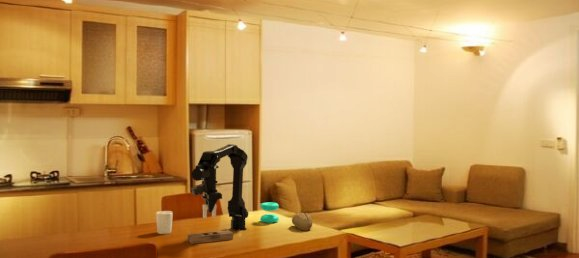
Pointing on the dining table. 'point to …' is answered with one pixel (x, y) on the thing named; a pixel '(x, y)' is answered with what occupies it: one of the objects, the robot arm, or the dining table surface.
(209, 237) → the rail
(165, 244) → the dining table surface
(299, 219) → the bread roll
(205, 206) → the grey arch block
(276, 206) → the donuts
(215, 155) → the robot arm
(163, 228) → the white cup
